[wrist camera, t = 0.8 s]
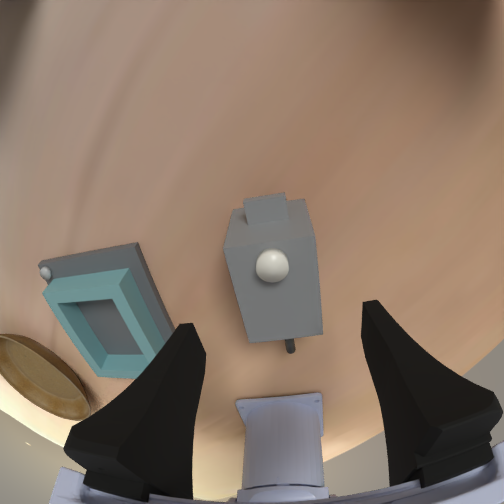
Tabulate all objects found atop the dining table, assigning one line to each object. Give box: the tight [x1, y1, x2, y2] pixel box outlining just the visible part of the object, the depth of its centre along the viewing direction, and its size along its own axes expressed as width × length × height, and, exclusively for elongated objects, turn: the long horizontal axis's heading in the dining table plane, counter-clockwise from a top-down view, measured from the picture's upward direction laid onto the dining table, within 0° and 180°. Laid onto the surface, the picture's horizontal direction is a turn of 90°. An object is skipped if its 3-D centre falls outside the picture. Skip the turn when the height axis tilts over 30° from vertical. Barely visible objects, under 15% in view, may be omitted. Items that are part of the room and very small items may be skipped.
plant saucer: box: [0, 334, 91, 421], centre depth 27 cm, size 15×15×3 cm
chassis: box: [38, 242, 175, 379], centre depth 21 cm, size 12×9×2 cm
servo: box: [223, 193, 323, 354], centre depth 17 cm, size 11×4×5 cm, turn 11°
